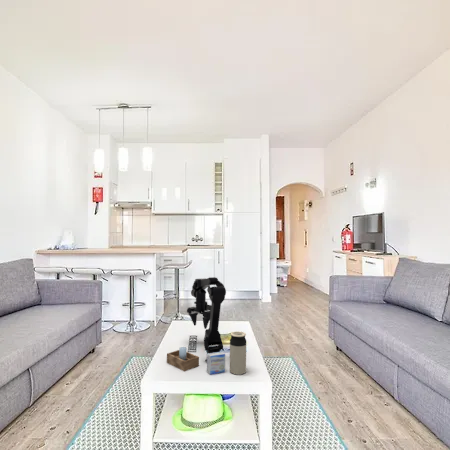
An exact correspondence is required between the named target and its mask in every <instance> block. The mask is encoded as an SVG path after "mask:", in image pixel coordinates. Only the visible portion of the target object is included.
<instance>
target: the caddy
mask: <svg viewBox="0 0 450 450" xmlns="http://www.w3.org/2000/svg"><path fill="white" fill-rule="evenodd" d="M166 364H168V365H171V366H172V367H174V368H176V369H179V370H181V371H183V372H186V371H189V370H192V369H194V368H197V367H199V366H200V357H199V356H198V355H196V354H193V353H191V352H188V351H186V361H184V360H182V359H180V358H179V349H177V350H175V351H171V352H168V353H166Z"/></svg>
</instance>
